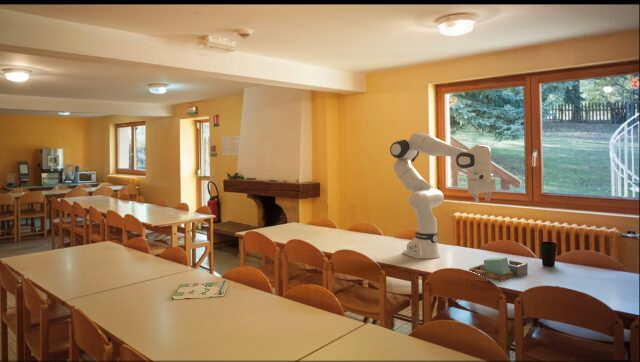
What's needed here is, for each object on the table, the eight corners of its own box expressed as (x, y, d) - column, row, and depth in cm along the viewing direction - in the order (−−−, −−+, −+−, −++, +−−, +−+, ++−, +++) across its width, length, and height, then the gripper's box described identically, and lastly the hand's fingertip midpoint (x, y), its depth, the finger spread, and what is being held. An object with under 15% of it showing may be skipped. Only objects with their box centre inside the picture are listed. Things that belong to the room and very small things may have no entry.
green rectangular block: (479, 274, 211) (476, 260, 212) (486, 272, 214) (483, 258, 215) (503, 274, 200) (499, 259, 201) (510, 272, 204) (507, 257, 205)
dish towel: (224, 298, 190) (223, 290, 189) (171, 301, 187) (170, 293, 187) (228, 285, 207) (228, 278, 206) (179, 289, 204) (179, 281, 204)
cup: (558, 267, 217) (559, 244, 216) (542, 267, 218) (542, 244, 218) (553, 263, 224) (554, 241, 224) (538, 263, 226) (538, 241, 225)
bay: (500, 272, 212) (500, 263, 211) (510, 269, 217) (510, 259, 217) (517, 276, 204) (517, 266, 204) (527, 273, 210) (527, 263, 209)
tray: (469, 273, 213) (469, 268, 212) (482, 269, 219) (482, 264, 219) (500, 281, 199) (500, 276, 199) (513, 276, 205) (513, 271, 205)
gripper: (488, 174, 233) (488, 198, 234) (465, 176, 221) (465, 202, 222) (498, 174, 228) (498, 199, 229) (476, 176, 216) (476, 203, 217)
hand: (482, 201), depth 226 cm, fingers open, 8 cm apart
